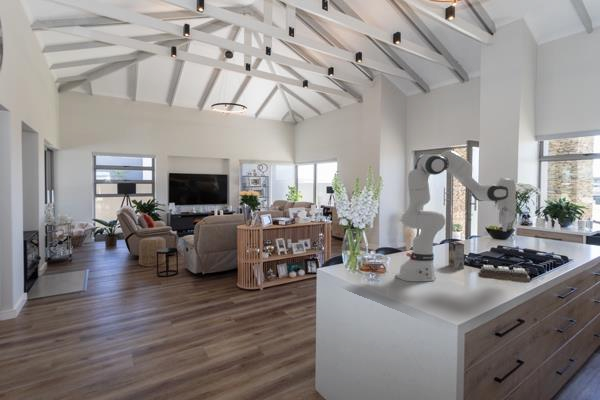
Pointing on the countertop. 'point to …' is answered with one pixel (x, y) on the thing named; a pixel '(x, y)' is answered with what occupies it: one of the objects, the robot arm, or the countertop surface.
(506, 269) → the button one
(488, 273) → the button board
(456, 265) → the coffee box
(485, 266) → the button three
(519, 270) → the button two
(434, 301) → the countertop surface
